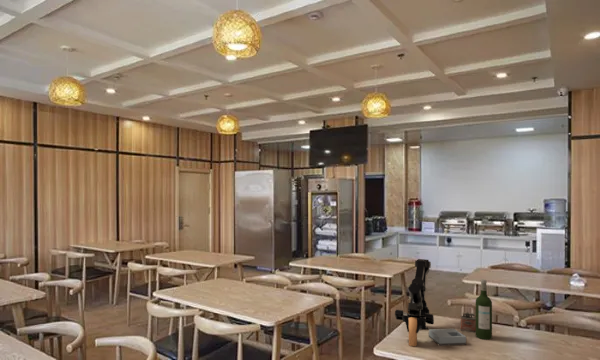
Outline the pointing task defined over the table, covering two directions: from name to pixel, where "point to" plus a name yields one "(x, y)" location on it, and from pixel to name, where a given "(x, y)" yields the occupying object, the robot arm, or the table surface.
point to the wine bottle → (483, 314)
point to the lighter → (468, 322)
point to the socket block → (447, 337)
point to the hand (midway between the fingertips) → (412, 332)
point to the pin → (412, 331)
